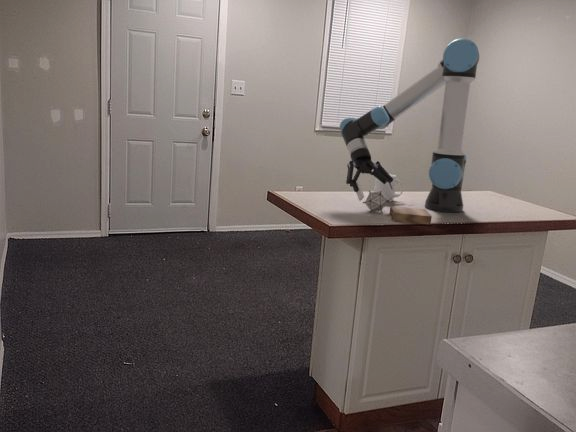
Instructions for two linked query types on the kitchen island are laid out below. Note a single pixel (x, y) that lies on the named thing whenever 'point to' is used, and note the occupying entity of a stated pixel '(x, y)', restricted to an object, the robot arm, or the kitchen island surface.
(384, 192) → the mug
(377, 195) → the game die
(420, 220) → the pedestal
